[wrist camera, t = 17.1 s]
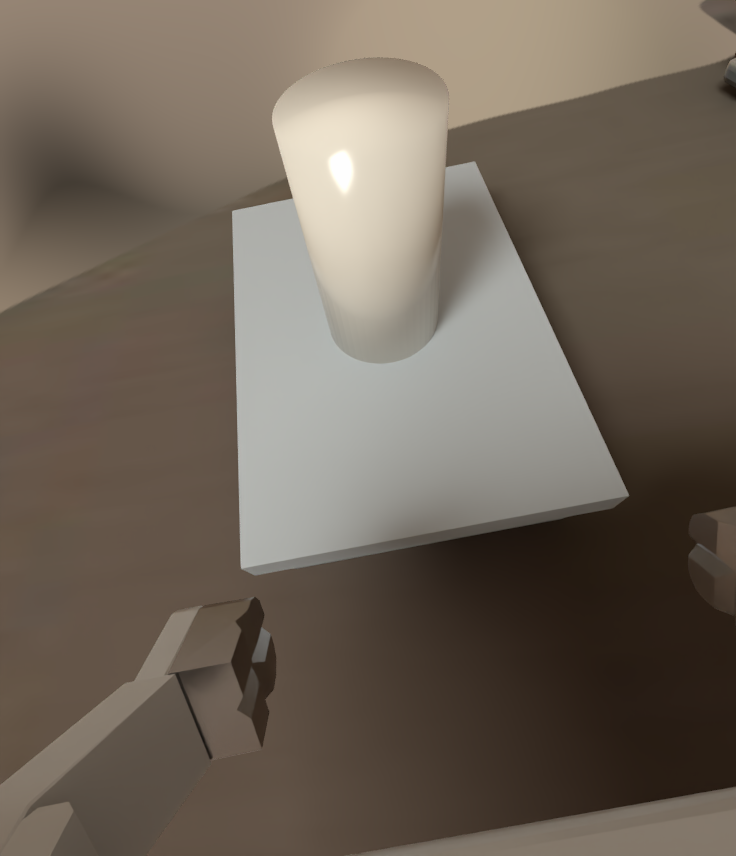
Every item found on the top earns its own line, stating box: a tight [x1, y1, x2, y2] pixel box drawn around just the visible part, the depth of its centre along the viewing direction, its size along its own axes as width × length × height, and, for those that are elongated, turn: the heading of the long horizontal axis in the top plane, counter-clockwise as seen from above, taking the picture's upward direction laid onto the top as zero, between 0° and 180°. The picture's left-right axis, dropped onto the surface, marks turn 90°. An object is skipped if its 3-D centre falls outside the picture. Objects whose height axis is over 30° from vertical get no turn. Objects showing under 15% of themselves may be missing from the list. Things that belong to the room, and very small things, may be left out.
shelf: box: [232, 162, 629, 575], centre depth 22 cm, size 20×14×4 cm
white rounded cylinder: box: [272, 58, 449, 364], centre depth 16 cm, size 5×5×9 cm
